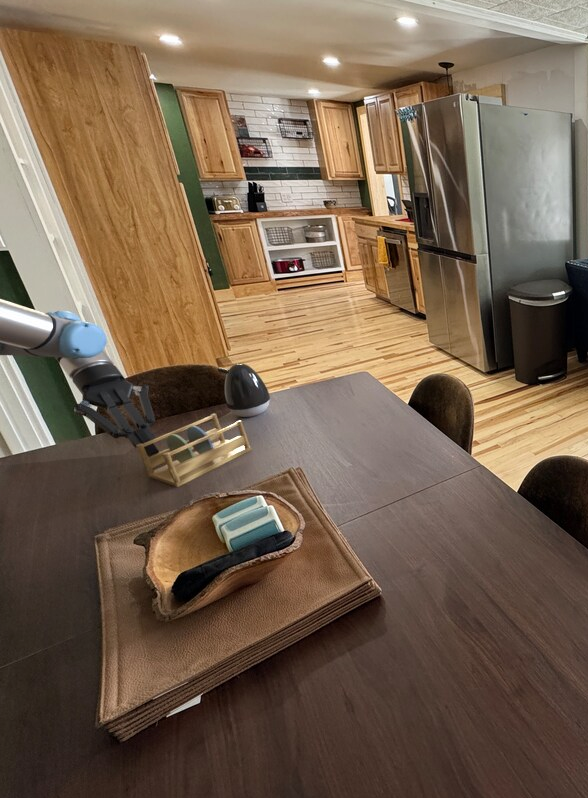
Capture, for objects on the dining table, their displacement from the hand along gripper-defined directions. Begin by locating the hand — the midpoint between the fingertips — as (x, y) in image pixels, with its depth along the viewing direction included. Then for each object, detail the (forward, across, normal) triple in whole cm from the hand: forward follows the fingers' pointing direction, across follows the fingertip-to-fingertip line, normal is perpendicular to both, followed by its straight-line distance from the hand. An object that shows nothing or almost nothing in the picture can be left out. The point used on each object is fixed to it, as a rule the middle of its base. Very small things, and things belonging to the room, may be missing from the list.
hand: (154, 455), depth 106 cm
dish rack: (+6, +6, -1) cm, 9 cm away
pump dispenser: (-6, +27, +14) cm, 31 cm away
